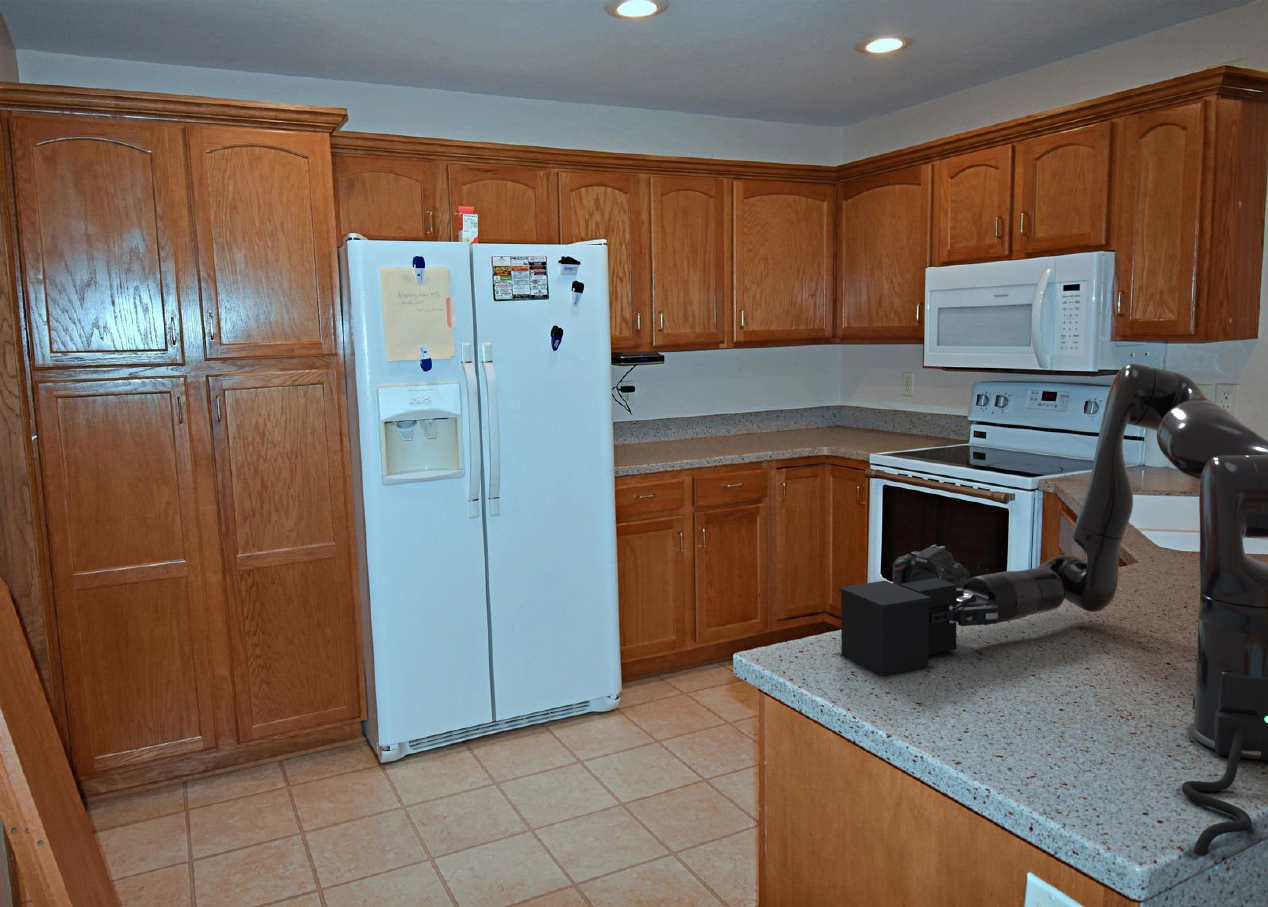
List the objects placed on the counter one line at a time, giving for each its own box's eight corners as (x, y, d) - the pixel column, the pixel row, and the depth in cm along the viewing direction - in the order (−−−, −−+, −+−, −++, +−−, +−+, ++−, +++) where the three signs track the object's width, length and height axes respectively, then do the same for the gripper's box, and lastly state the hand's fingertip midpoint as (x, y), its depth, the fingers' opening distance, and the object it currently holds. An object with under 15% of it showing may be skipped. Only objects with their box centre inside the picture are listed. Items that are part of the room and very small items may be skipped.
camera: (886, 603, 159) (886, 549, 158) (897, 589, 168) (898, 537, 166) (965, 611, 153) (965, 555, 152) (972, 596, 161) (973, 542, 160)
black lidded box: (930, 667, 128) (931, 597, 126) (882, 677, 125) (882, 605, 123) (884, 645, 137) (885, 580, 136) (839, 654, 134) (839, 587, 133)
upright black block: (956, 649, 133) (956, 584, 132) (918, 657, 131) (918, 591, 129) (936, 640, 137) (936, 577, 136) (899, 647, 135) (898, 584, 134)
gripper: (968, 563, 145) (882, 577, 138) (1038, 584, 131) (946, 601, 125) (968, 608, 146) (882, 623, 139) (1037, 633, 132) (945, 652, 126)
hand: (913, 613), depth 132 cm, fingers closed on upright black block, 4 cm apart
